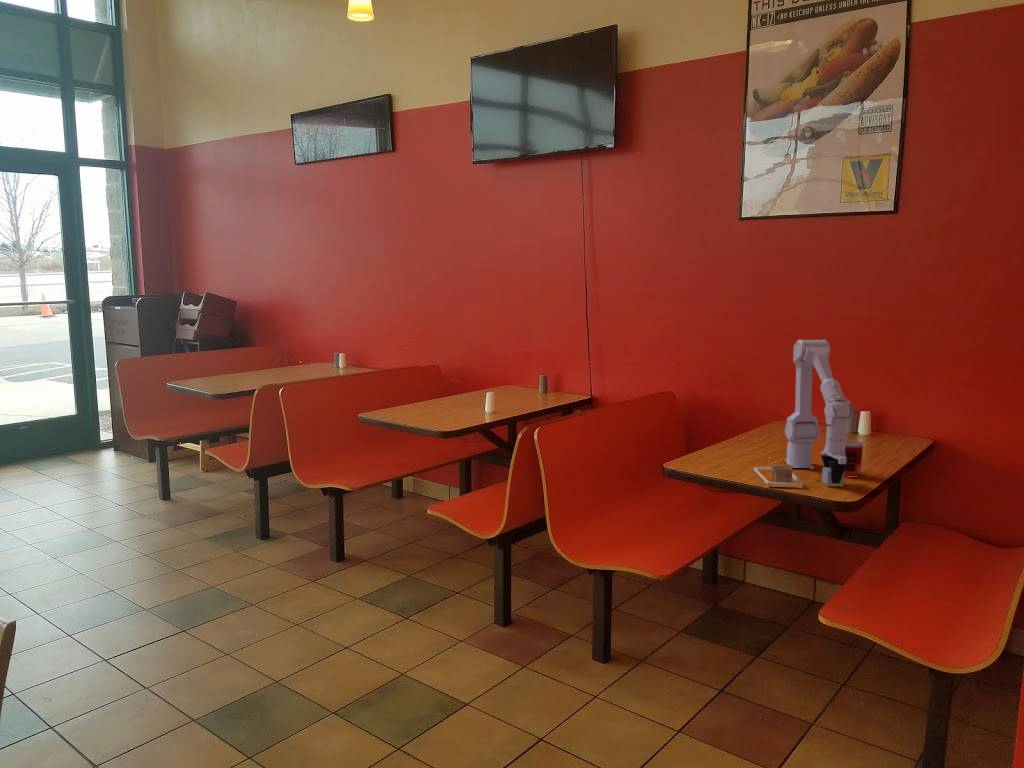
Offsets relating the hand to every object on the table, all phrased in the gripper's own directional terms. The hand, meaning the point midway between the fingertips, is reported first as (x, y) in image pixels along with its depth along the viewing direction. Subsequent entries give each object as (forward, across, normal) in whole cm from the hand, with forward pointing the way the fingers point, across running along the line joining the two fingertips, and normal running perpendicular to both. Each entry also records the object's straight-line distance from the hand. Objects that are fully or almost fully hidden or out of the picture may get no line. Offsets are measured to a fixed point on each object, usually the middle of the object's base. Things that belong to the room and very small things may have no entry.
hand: (832, 480), depth 246 cm
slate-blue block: (+1, 0, 0) cm, 1 cm away
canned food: (+2, -12, +9) cm, 15 cm away
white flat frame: (+1, -4, -16) cm, 17 cm away
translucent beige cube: (+1, 0, -16) cm, 16 cm away
